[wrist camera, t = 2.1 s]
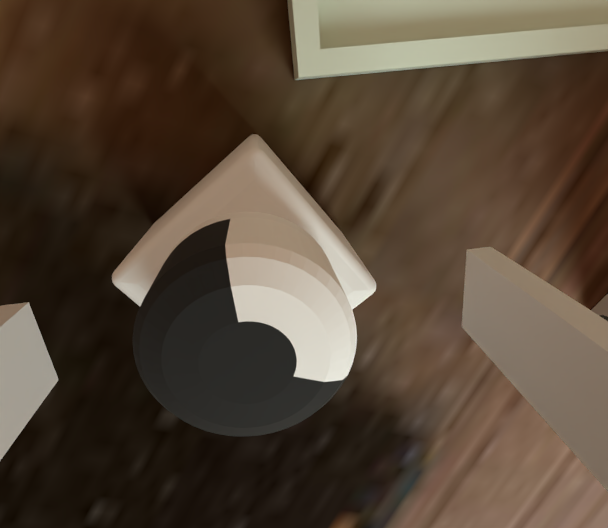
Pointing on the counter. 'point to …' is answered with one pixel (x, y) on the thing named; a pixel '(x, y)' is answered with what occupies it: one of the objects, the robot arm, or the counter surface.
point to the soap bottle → (602, 307)
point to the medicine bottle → (244, 299)
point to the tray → (437, 33)
